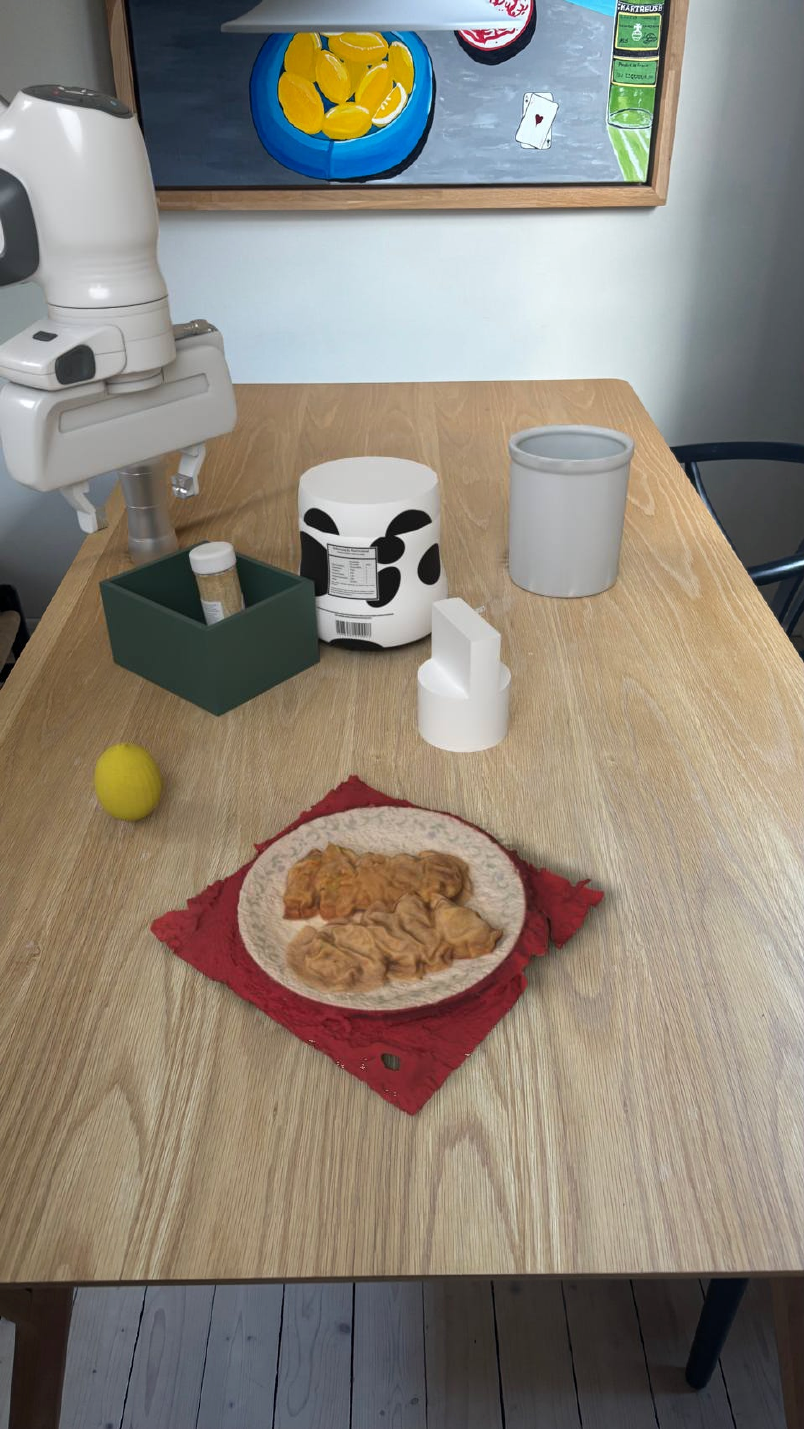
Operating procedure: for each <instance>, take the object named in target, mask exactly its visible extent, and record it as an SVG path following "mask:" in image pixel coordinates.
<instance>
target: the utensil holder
mask: <svg viewBox="0 0 804 1429" xmlns="http://www.w3.org/2000/svg"><path fill="white" fill-rule="evenodd" d="M635 446H636V445H635V440H634V439H633V438H632V437H631V436H630V435H628V434H626V433H625V432H623V431H620V430H617V429H614V428H610V427H604V426H599V425H591V424H578V423H575V424H570V423H566V424H565V423H563V424H561V423H560V424H547V425H540V426H533V427H530V428H526V429H522V430H520V431H517V432H515V433H514V434H512V435H511V436H510V437H509V439H508V454H509V457H510V464H509V465H510V467H509V468H510V470H509V503H508V504H509V505H508V506H509V509H508V573H509V574H508V575H509V577H510V579H511V581H512V582H513V583H514V584H515V585H516V586H518V587H519V588H521V589H522V590H525V591H528V592H530V593H532V594H535V595H541V596H545V597H551V598H563V599H565V598H566V599H570V598H572V599H573V598H583V597H589V596H594V595H597V594H601V593H603V592H605V591H608V590H609V589H611V588H612V587H613V586H614V585H615V583H616V582H617V578H618V571H619V564H620V559H621V558H620V557H621V550H622V543H623V533H624V525H625V515H626V506H627V498H628V492H629V482H630V472H631V462H632V459H633V457H634V455H635Z"/></svg>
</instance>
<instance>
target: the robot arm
mask: <svg viewBox="0 0 804 1429" xmlns="http://www.w3.org/2000/svg"><path fill="white" fill-rule="evenodd" d="M158 209H159V208H158V203H157V196H156V189H155V184H154V178H153V174H152V168H151V163H150V159H149V155H148V151H147V147H146V142H145V139H144V135H143V133H142V130H141V127H140V124H139V122H138V120H137V117H136V115H135V114H134V113H133V111H132V110H131V108H130V107H129V106H127V105H126V104H125V103H124V101H122V100H120V99H118V98H116V97H115V96H113V95H111V94H108V93H105V92H102V91H99V90H95V89H90V88H86V87H85V88H84V87H79V86H66V85H60V84H49V83H48V84H33V85H29V86H27V87H24V88H22V89H20V90H19V91H18V92H17V93H16V94H15V96H14V98H13V99H12V101H11V102H10V101H8V100H7V99H6V98H5V97H4V96H3V95H2V94H0V291H1V290H5V289H8V288H11V287H15V286H18V285H25V284H28V283H34V284H37V285H38V286H39V287H40V288H41V290H42V291H43V293H44V299H45V303H46V309H47V314H45V315H43V316H42V317H41V318H39V319H38V320H36V321H35V322H34V323H33V324H32V325H30V326H28V327H27V328H25V329H23V330H22V331H21V332H20V333H17V334H16V335H15V336H13V337H11V338H10V339H8V340H7V341H5V342H3V343H2V344H0V378H2V379H4V380H6V381H8V382H7V383H5V385H4V386H3V387H2V388H1V390H0V441H1V446H2V447H1V448H2V452H3V457H4V462H5V466H6V469H7V472H8V474H9V476H10V477H11V478H12V479H13V480H14V481H15V482H16V483H18V484H19V485H21V486H22V487H25V488H27V489H29V490H32V491H35V492H37V493H42V494H45V493H50V492H53V491H55V490H56V491H57V490H58V492H59V493H60V494H61V495H62V496H63V497H64V499H65V500H66V501H67V502H68V503H69V504H70V505H71V506H72V507H73V509H75V510H76V515H77V520H78V524H79V527H80V529H81V530H82V532H85V533H87V534H90V535H92V534H96V533H98V532H100V531H104V530H106V529H108V527H109V523H108V520H106V519H107V512H106V507H105V508H104V507H102V506H97V504H95V503H91V501H90V500H89V499H88V498H87V497H86V495H85V494H88V493H90V491H91V489H90V484H89V480H90V479H93V478H96V477H99V476H102V475H105V474H108V473H111V472H116V471H117V470H118V469H121V468H124V467H127V466H130V465H133V464H136V463H139V462H142V461H145V460H148V459H152V458H155V457H158V456H161V455H164V454H166V455H167V454H169V453H173V452H178V453H181V456H180V460H179V464H178V470H177V473H175V474H173V475H171V476H170V483H171V485H172V488H171V489H172V493H173V496H174V497H175V498H177V499H178V498H179V499H181V500H187V499H189V498H190V499H191V498H192V497H195V496H198V495H199V494H200V488H199V487H200V486H199V479H198V476H200V472H201V468H202V466H203V463H204V460H205V457H206V454H207V451H206V442H207V441H209V440H212V439H216V438H219V437H223V436H225V435H227V434H231V433H232V432H233V431H234V429H235V426H236V425H237V421H238V417H239V416H238V406H237V402H236V395H235V391H234V386H233V382H232V376H231V373H230V369H229V365H228V363H227V362H228V361H227V359H226V354H225V345H224V344H225V343H224V338H223V334H222V332H221V331H220V330H219V329H218V328H217V327H216V325H214V324H212V323H210V322H208V321H207V319H205V318H198V319H192V320H190V321H189V322H184V323H175V324H173V317H172V309H171V302H170V301H171V300H170V294H169V287H168V284H167V281H166V279H165V277H164V275H163V272H162V269H161V265H160V259H159V243H160V237H161V226H160V225H161V224H160V217H159V210H158Z"/></svg>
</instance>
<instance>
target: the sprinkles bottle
mask: <svg viewBox="0 0 804 1429" xmlns="http://www.w3.org/2000/svg"><path fill="white" fill-rule="evenodd" d="M210 542H211V543H206V544H203V545H200V546H198V547H196V548H194V549H192V550H191V552H190V553H189V558H190V563H191V567H192V570H193V571H194V574H195V576H196V580H197V584H198V587H199V592H200V596H201V597H200V598H201V603H202V607H203V611H204V615H205V619H206V622H207V626H210V625H212V624H214V623H216V622H218V621H221V620H223V619H225V618H227V617H229V616H231V615H233V614H236V613H238V612H240V611H242V610H244V609H246V607H245V603H244V598H243V594H242V592H241V588H240V583H239V579H238V575H237V569H236V564H235V563H236V557H235V552H234V551H235V549H234V546H233V545H232V543H230V542H227V541H210Z"/></svg>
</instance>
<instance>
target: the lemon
mask: <svg viewBox="0 0 804 1429" xmlns="http://www.w3.org/2000/svg"><path fill="white" fill-rule="evenodd" d="M93 785H94V790H95V794H96V798H97V801H98V802H99V804H100V806H101V808H103V810H104V811H105V813H107V814H108V815H109V816H111V817H113V818H115V819H117V820H120V821H125V822H137V821H139V820H141V819H144V818H145V817H147V816H148V815H150V814H151V813H152V812H153V811H154V810H155V809H156V807H157V806H158V804H159V802H160V800H161V795H162V792H163V791H162V790H163V782H162V775H161V771H160V768H159V765H158V763H157V762H156V760H155V758H154V757H153V755H152V754H151V752H149V751H148V749H146V748H144V747H143V746H142V745H140V744H137V743H133V742H118V743H116V744H114V745H112V746H110V747H108V748H107V749H106V750H105V751H104V752H102V754H101V755H100V756H99V758H98V760H97V762H96V764H95V768H94V775H93Z"/></svg>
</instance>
